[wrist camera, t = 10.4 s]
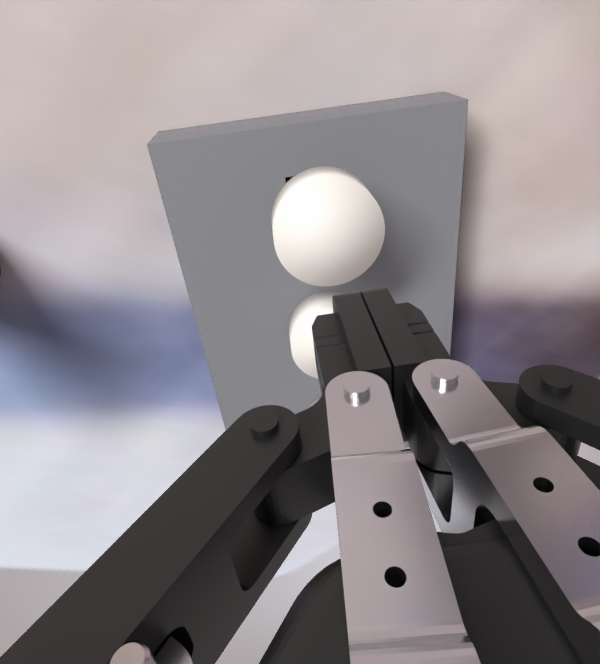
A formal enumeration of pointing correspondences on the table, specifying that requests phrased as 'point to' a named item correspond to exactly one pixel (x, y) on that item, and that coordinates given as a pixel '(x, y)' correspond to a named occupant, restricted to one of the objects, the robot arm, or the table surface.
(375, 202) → the knob
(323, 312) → the knob middle
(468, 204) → the table surface
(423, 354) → the robot arm
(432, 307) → the control board
